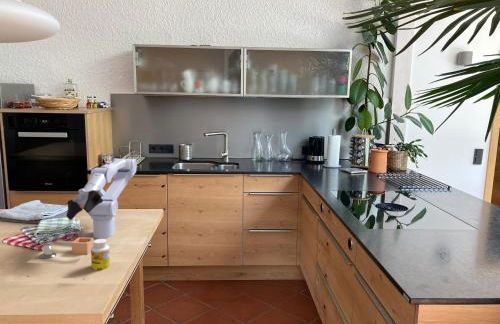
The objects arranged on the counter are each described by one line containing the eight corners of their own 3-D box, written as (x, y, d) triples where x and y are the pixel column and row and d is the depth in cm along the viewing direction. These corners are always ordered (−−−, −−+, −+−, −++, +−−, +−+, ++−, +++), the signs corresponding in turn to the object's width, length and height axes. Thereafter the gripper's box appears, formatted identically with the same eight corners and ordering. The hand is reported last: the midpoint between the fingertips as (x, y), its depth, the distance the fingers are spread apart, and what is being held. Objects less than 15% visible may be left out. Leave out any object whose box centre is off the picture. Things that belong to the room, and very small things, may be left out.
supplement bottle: (88, 271, 126) (86, 241, 124) (102, 265, 130) (101, 236, 129) (99, 276, 123) (98, 245, 121) (113, 269, 128) (112, 239, 126)
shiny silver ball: (44, 256, 136) (43, 243, 135) (59, 257, 136) (58, 243, 135) (36, 262, 131) (35, 248, 130) (51, 263, 131) (50, 249, 130)
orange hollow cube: (79, 247, 141) (78, 235, 140) (93, 248, 141) (93, 236, 140) (72, 253, 136) (71, 241, 135) (87, 254, 136) (87, 241, 135)
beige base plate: (57, 244, 148) (56, 240, 147) (99, 245, 147) (98, 242, 147) (26, 267, 128) (26, 262, 128) (74, 268, 128) (74, 264, 127)
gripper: (70, 188, 143) (53, 212, 132) (101, 174, 139) (86, 198, 128) (82, 202, 146) (67, 226, 135) (113, 189, 142) (100, 213, 131)
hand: (77, 214), depth 132 cm, fingers open, 7 cm apart
